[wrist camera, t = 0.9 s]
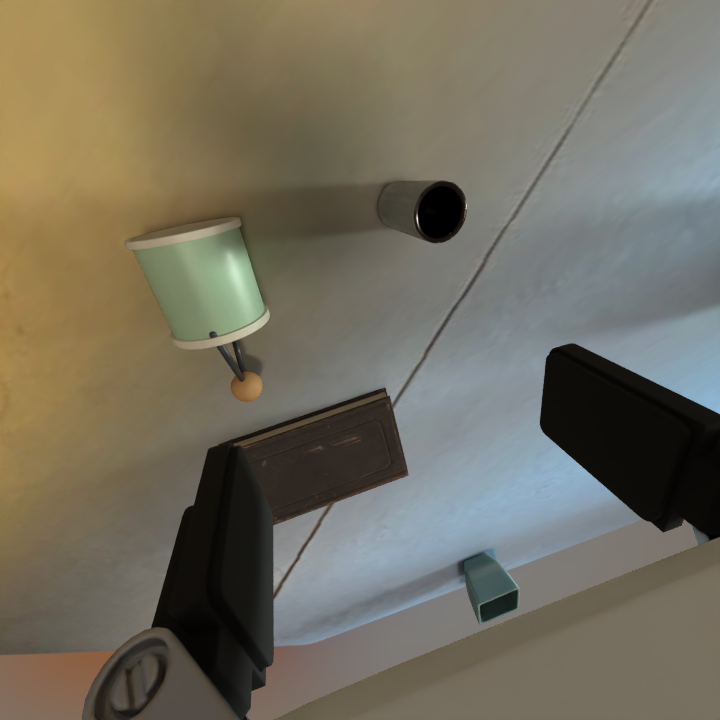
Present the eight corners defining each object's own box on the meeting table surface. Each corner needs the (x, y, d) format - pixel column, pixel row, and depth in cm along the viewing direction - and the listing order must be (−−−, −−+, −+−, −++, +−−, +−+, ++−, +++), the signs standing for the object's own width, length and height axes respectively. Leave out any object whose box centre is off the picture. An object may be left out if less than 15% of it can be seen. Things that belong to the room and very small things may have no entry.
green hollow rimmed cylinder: (145, 232, 31) (103, 248, 23) (243, 213, 32) (234, 223, 24) (215, 387, 40) (202, 436, 32) (290, 368, 41) (295, 411, 33)
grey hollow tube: (385, 235, 36) (422, 252, 27) (371, 191, 34) (406, 194, 25) (423, 218, 36) (472, 230, 27) (411, 173, 34) (461, 170, 25)
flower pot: (493, 565, 75) (519, 609, 67) (457, 580, 74) (479, 626, 66) (492, 543, 71) (520, 587, 63) (454, 558, 70) (477, 605, 62)
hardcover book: (218, 444, 44) (216, 456, 42) (384, 387, 45) (390, 396, 43) (264, 517, 52) (264, 531, 50) (404, 466, 54) (409, 477, 52)
